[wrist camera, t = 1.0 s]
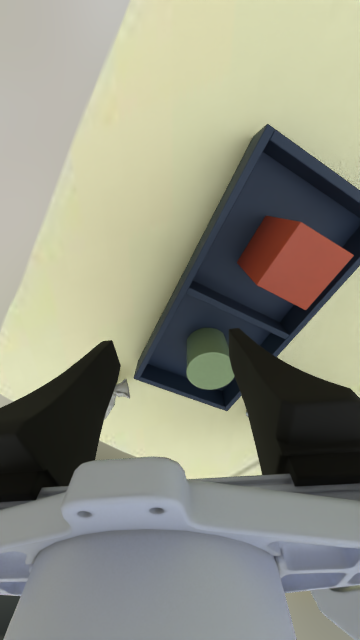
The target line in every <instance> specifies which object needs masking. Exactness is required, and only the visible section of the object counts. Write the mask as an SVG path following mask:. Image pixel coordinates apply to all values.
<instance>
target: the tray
mask: <svg viewBox="0 0 360 640" xmlns="http://www.w3.org/2000/svg"><path fill="white" fill-rule="evenodd" d="M265 216H272V217H277V218H282V219H288V220H293V221H299V222H302V223H304V224H305V225H307V226H308V227H310V228H312V229H313V230H315V231H316V232H318V233H320V234H321V235H323V236H324V237H326V238H328V239H329V240H331V241H332V242H334V243H336V244H337V245H339V246H340V247H342V248H344V249H345V250H347V251H348V252H350V253H352V254H353V255H354V256H353V257H352V258H351V260H350V261H349V262H348V263H347V264H346V265H345V266H344V268H343V269H342V270H341V271H340V272H339V273H338V274H337V276H336V277H335V278H334V279H333V280H332V281H331V282H330V283H329V285H328V286H327V287H326V288H325V289H324V290H323V291H322V293H321V294H320V295H319V296H318V297H317V298H316V299H315V301H314V302H313V303H312V304H311V305H310V306H309V307H308V309H307V310H304V309H302V308H300V307H298V306H296V305H294V304H292V303H290V302H288V301H286V300H285V299H283V298H281V297H279V296H277V295H275V294H273V293H271V292H269V291H267V290H265V289H263V288H261V287H259V286H257V285H256V284H255V283H254V282H253V280H252V279H251V278H250V277H249V276H248V275H247V274H246V273H245V271H244V270H243V269H242V268H241V267H240V266H239V265H238V264H237V261H238V260H239V258H240V256H241V255H242V253H243V252H244V250H245V248H246V247H247V245H248V243H249V242H250V240H251V239H252V237H253V235H254V234H255V232H256V231H257V229H258V227H259V226H260V224H261V223H262V221H263V219H264V218H265ZM359 266H360V190H359V189H357V188H356V187H355V186H353V185H352V184H350V183H349V182H348V181H346V180H345V179H343V178H342V177H341V176H339V175H338V174H337V173H335V172H334V171H332V170H331V169H330V168H328V167H327V166H325V165H324V164H323V163H321V162H320V161H319V160H317V159H316V158H314V157H313V156H312V155H310V154H309V153H307V152H306V151H305V150H303V149H302V148H301V147H299V146H298V145H296V144H295V143H294V142H292V141H291V140H290V139H288V138H287V137H285V136H284V135H283V134H281V133H280V132H278V131H277V130H275V129H274V128H273V127H272V126H270V125H269V124H267V125H266V126H265V127H264V128H262V129H261V130H260V131H259V132H258V133H257V134H256V135H254V136H253V138H252V140H251V142H250V144H249V146H248V148H247V150H246V151H245V153H244V155H243V157H242V159H241V161H240V163H239V165H238V167H237V169H236V171H235V173H234V175H233V177H232V179H231V181H230V183H229V185H228V187H227V189H226V191H225V192H224V194H223V196H222V198H221V200H220V202H219V204H218V206H217V208H216V210H215V212H214V214H213V216H212V218H211V220H210V222H209V224H208V226H207V228H206V230H205V231H204V233H203V235H202V237H201V239H200V241H199V243H198V245H197V247H196V249H195V251H194V253H193V255H192V257H191V259H190V261H189V263H188V265H187V267H186V269H185V271H184V272H183V274H182V276H181V278H180V280H179V282H178V284H177V286H176V288H175V290H174V292H173V294H172V296H171V298H170V300H169V302H168V304H167V306H166V308H165V310H164V311H163V313H162V315H161V317H160V319H159V321H158V323H157V325H156V327H155V329H154V331H153V333H152V335H151V337H150V339H149V341H148V343H147V345H146V347H145V349H144V351H143V352H142V354H141V356H140V358H139V360H138V364H137V367H136V371H135V375H134V379H136V380H139V381H142V382H145V383H147V384H150V385H153V386H156V387H159V388H162V389H165V390H168V391H170V392H173V393H176V394H179V395H182V396H185V397H188V398H190V399H193V400H196V401H199V402H202V403H205V404H208V405H211V406H213V407H216V408H219V409H222V410H225V411H228V410H229V409H230V407H231V406H232V405H233V404H234V403H235V402H236V401H237V400H238V399H239V398H240V396H241V392H240V390H239V387H238V384H237V382H236V379H235V376H234V378H233V380H232V381H231V382H230V383H229V384H227V385H226V386H224V387H221V388H218V389H212V390H207V389H201V388H198V387H196V386H195V385H193V384H192V383H191V382H190V381H189V379H188V377H187V374H186V341H187V339H188V337H189V336H190V335H191V334H192V333H193V332H194V331H196V330H198V329H201V328H214V329H217V330H219V331H221V332H222V333H223V334H224V335H225V336H226V338H227V341H228V344H229V329H233V328H240V329H241V330H242V331H243V332H244V333H245V334H246V335H248V336H249V337H250V338H251V339H252V340H253V341H255V342H256V343H257V344H258V345H260V346H261V347H262V348H263V349H265V350H266V351H268V352H269V353H271V354H272V355H274V356H275V357H277V356H278V355H279V354H280V353H281V351H282V350H283V349H284V348H285V347H286V346H287V345H288V344H289V343H290V342H291V341H292V339H293V338H294V337H295V336H296V335H297V334H298V333H299V332H300V331H301V330H302V328H303V327H304V326H305V325H306V324H307V323H308V322H309V321H310V320H311V319H312V317H313V316H314V315H315V314H316V313H317V312H318V311H319V310H320V309H321V308H322V306H323V305H324V304H325V303H326V302H327V301H328V300H329V299H330V298H331V297H332V295H333V294H334V293H335V292H336V291H337V290H338V289H339V288H340V287H341V286H342V285H343V283H344V282H345V281H346V280H347V279H348V278H349V277H350V276H351V275H352V274H353V272H354V271H355V270H356V269H357V268H358V267H359Z"/></svg>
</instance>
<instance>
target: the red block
mask: <svg viewBox="0 0 360 640" xmlns="http://www.w3.org/2000/svg"><path fill="white" fill-rule="evenodd" d="M353 256H354V255H353V254H352V253H350V252H348V251H347V250H345V249H344V248H342V247H340V246H339V245H337V244H336V243H334V242H332V241H331V240H329V239H328V238H326V237H324V236H323V235H321V234H320V233H318V232H316V231H315V230H313V229H312V228H310V227H308V226H307V225H305V224H304V223H302V222H299V221H293V220H288V219H282V218H277V217H272V216H265V218H264V219H263V221H262V223H261V224H260V226H259V227H258V229H257V231H256V232H255V234H254V235H253V237H252V239H251V240H250V242H249V243H248V245H247V247H246V248H245V250H244V252H243V253H242V255H241V256H240V258H239V260H238V261H237V264H238V265H239V266H240V267H241V268H242V269H243V270H244V271H245V273H246V274H247V275H248V276H249V277H250V278H251V279H252V280H253V282H254V283H255V284H256V285H257V286H259V287H261V288H263V289H265V290H267V291H269V292H271V293H273V294H275V295H277V296H279V297H281V298H283V299H285V300H286V301H288V302H290V303H292V304H294V305H296V306H298V307H300V308H302V309H304V310H307V309H308V307H309V306H310V305H311V304H312V303H313V302H314V301H315V299H316V298H317V297H318V296H319V295H320V294H321V293H322V291H323V290H324V289H325V288H326V287H327V286H328V285H329V283H330V282H331V281H332V280H333V279H334V278H335V277H336V276H337V274H338V273H339V272H340V271H341V270H342V269H343V268H344V266H345V265H346V264H347V263H348V262H349V261H350V260H351V258H352V257H353Z"/></svg>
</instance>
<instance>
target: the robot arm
mask: <svg viewBox="0 0 360 640" xmlns="http://www.w3.org/2000/svg"><path fill="white" fill-rule="evenodd" d="M229 358H230V363H231V367H232V371H233V373H234V376H235V379H236V382H237V384H238V387H239V390H240V392H241V395H242V398H243V400H244V403H245V406H246V409H247V412H246V415H247V416H248V417H249V421H250V425H251V429H252V433H253V437H254V441H255V445H256V449H257V453H258V458H259V462H260V466H261V471H262V475H257V476H240V477H222V478H204V479H186V476H185V471H184V470H183V468H182V467H181V466H180V464H179V463H178V462H176V461H174V460H171V459H169V458H165V457H139V458H123V459H108V460H95V457H96V451H97V446H98V442H99V438H100V433H101V429H102V425H103V421H104V418H105V414H106V411H107V409H108V406H109V403H110V400H111V397H112V395H113V392H114V389H115V386H116V383H117V380H118V376H119V371H120V366H121V365H120V362H119V359H118V356H117V353H116V350H115V347H114V344H113V341H112V340H111V341H102V342H101V343H100V344H98V345H97V346H96V347H95V348H93V349H92V350H91V351H90V352H89V353H88V354H86V355H85V356H84V357H83V358H82V359H80V360H79V361H78V362H77V363H75V364H74V365H73V366H71V367H70V368H69V369H67V370H66V371H65V372H64V373H62V374H61V375H59V376H58V377H56V378H55V379H53V380H52V381H50V382H49V383H47V384H45V385H44V386H42V387H40V388H39V389H37V390H35V391H33V392H32V393H30V394H28V395H26V396H24V397H22V398H20V399H18V400H16V401H14V402H12V403H10V404H8V405H6V406H4V407H2V408H0V595H15V596H21V597H20V600H19V602H18V605H17V607H16V610H15V612H14V615H13V617H12V619H11V622H10V624H9V627H8V630H7V632H6V634H5V637H4V640H297V639H296V635H295V631H294V627H293V624H292V620H291V616H290V612H289V609H288V605H287V601H286V597H285V593H291V592H300V591H309V590H310V591H311V594H312V596H313V598H314V600H315V601H316V603H317V605H318V608H319V610H320V611H321V612H322V613H323V614H324V615H325V616H326V617H327V618H328V619H330V620H331V621H332V622H333V623H335V624H336V625H337V626H338V627H339V628H341V629H342V630H343V631H344V632H346V633H347V634H348V635H349V636H350V637H352V638H353V639H354V640H360V398H359V397H358V396H357V395H356V394H355V393H354V392H353V391H352V390H351V389H350V388H347V387H344V386H340V385H337V384H334V383H331V382H328V381H325V380H323V379H320V378H317V377H315V376H312V375H310V374H308V373H305V372H303V371H301V370H299V369H297V368H295V367H293V366H291V365H289V364H287V363H285V362H283V361H282V360H280V359H278V358H277V357H275V356H274V355H272V354H271V353H269V352H268V351H266V350H265V349H263V348H262V347H261V346H260V345H258V344H257V343H256V342H255V341H253V340H252V339H251V338H250V337H249V336H248V335H246V334H245V333H244V332H243V331H242V330H241V329H240V328H233V329H229Z"/></svg>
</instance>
